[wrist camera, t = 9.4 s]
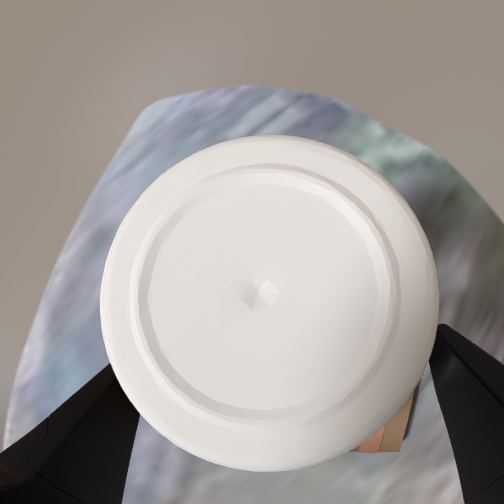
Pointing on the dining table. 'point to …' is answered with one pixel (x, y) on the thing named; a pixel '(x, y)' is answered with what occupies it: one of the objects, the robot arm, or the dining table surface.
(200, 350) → the sprinkles bottle
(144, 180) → the dining table surface
